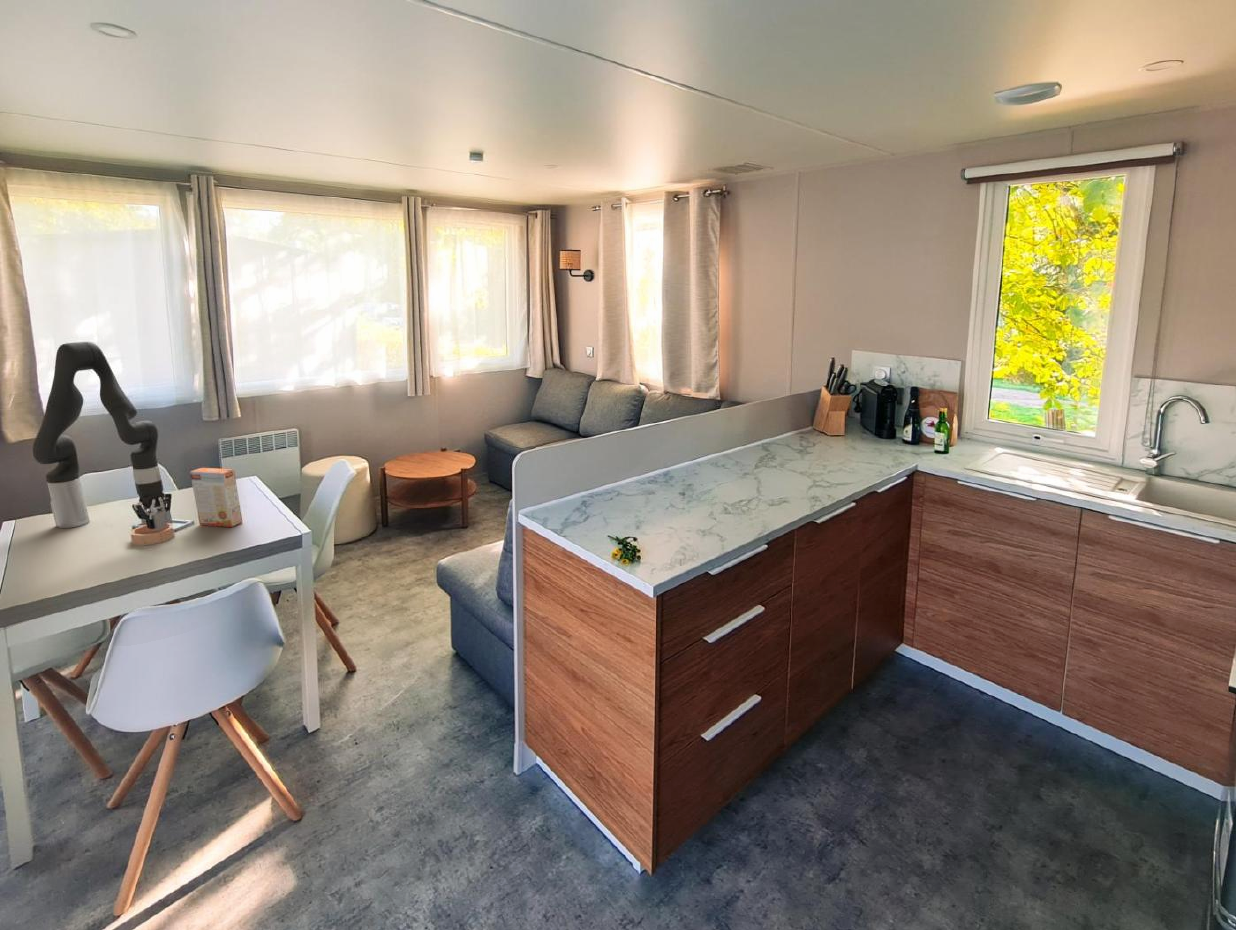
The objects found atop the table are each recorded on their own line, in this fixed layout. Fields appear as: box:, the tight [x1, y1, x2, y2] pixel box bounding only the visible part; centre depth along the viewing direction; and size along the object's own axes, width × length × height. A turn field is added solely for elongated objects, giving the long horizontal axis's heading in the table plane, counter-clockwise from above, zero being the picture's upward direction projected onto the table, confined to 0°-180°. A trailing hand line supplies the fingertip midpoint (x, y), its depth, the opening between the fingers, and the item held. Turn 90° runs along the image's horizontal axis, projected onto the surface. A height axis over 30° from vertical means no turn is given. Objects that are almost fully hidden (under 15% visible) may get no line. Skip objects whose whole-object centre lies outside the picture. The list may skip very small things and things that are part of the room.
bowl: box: [130, 523, 175, 546], centre depth 229 cm, size 12×12×4 cm
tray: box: [131, 518, 195, 533], centre depth 241 cm, size 18×9×1 cm, turn 78°
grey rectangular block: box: [148, 511, 168, 530], centre depth 227 cm, size 4×4×6 cm
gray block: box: [140, 508, 157, 526], centre depth 241 cm, size 4×4×6 cm
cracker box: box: [189, 467, 243, 528], centre depth 241 cm, size 14×6×21 cm, turn 78°
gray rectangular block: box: [166, 509, 173, 524], centre depth 240 cm, size 4×4×6 cm
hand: (157, 526), depth 228 cm, fingers closed on grey rectangular block, 4 cm apart
